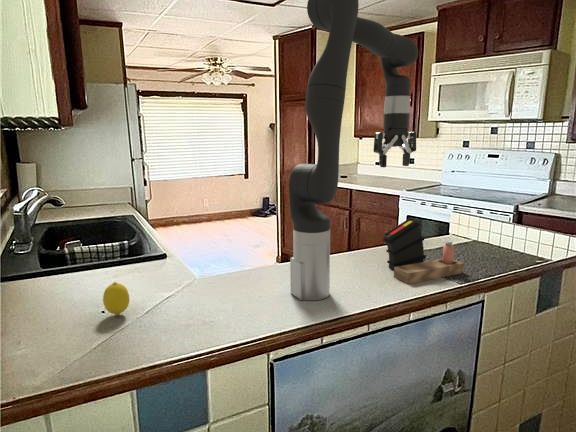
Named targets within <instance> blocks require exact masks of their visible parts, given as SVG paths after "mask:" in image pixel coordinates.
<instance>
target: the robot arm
mask: <svg viewBox="0 0 576 432" xmlns="http://www.w3.org/2000/svg"><path fill="white" fill-rule="evenodd" d="M359 4H360V3H359V0H307V4H306V5H307V6H306V12H307V16H308V18H309V20H310V22H311V23H312V25H313V26H314V27H315V28H317V29H319V30H321V31H323V32H326V33H328V37H327V41H326V44H325V47H324V49H323V51H322V53H321V55H320V56H319V58H318V60H317V62H316V63H315V65H314V67H313V69H312V71H311V73H310V75H309V77H308V80H307V87H306V94H305V105H304V106H305V107H304V108H305V113H306V116H307V118H308V121H309V124H310V126H311V128H312V130H313V133H314V134H315V137H316V141H317V163H316V164H315V163H298V164H296V165H295V166H294V167H293V168H292V169H291V171H290V174H289V178H288V197H289V200H288V201H289V212H290V213H289V215H290V219H291V221H292V229H293V231H292V234H293V235H292V236H293V237H292V238H293V239H292V242H293V243H292V245H293V246H292V247H293V249H292V250H293V251H292V253H293V256H292V257H291V256H290V259H289V260H290V265H289V266H290V267H289V270H290V280H289V281H290V293H291V294H292V295H293V296H294V297H295V298H297V299H298V300H299V301H319V300H324V299H327V298H328V297H329V296H330V288H331V287H330V283H331V282H330V280H331V277H330V276H331V271H330V270H331V269H330V268H331V266H330V263H331V260H330V259H331V219H330V217H329V216H328V215H326V214H325V213H323V212H322V211H320V210H319V209H318V207H317V206H316V204H329V203H330V202H332V201H333V200H334V198H335V196H336V194H337V191H338V186H339V185H338V184H339V171H340V170H339V169H340V168H339V167H340V165H339V164H340V141H341V129H342V121H343V120H342V119H343V113H344V108H345V107H344V106H345V99H346V91H347V88H346V87H347V76H348V70H349V62H350V55H351V49H352V44H353V43H355V44H356V45H359V46H361V47H363V48H364V49H366V50H367V51H369V52H371V53H372V54H373V55H375V56H378V58H379V57H380V62H381V67H382V71H383V77H384V81H385V91H384V93H385V95H384V96H385V97H384V103H383V104H384V105H383V123H382V124H383V131H382V132H380V131H379V132H378V131H377V132H374V140H373V149H372V150H373V153H376V154H378V157H379V158H378V160H379V161H378V164H379V167H380V168H387V159H388V158H387V157H388V155H387V154H388V152H389V150H391V149H392V148H393V147H398V148H400V149H401V151H402V152H403V154H402V167H408V166H409V165H410V164H411V154H412V153H414V152H416V151H417V132H416V131H408V129H409V127H410V116H411V115H410V113H411V100H410V98H411V97H410V91H411V78H410V77H409V76H407V75H404V74H399V71H398V68H402V67H409V66H412V65H414V63H416V62H417V59H418V57H419V48H418V45H417V44H416V42H415V41H414V40H413V39H411V38H409V37H407V36H404V35H401V34H397V33H394V32H392V31H391V30H390V29H388V28H387V27H385V25H382V24H381V23H379V22H378V21H377V22H376V21H374V20H371V19H369V18H368V19H367V18H363V17H359V7H360V5H359ZM383 140H384V141H383ZM315 203H316V204H315Z"/></svg>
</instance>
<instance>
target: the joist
mask: <svg viewBox="0 0 576 432" xmlns="http://www.w3.org/2000/svg"><path fill="white" fill-rule="evenodd" d="M442 261H443V258H439V259H438V258H437V259H432V260H429V261H424V262H421V263H415V264H409V265H403V266H398V267H394V270H393V278H395V279H397V280H399V281H401V282H403V283H405V284H406V285H407V284H415V283H418V282H424V281H430V280H434V279H440V278H445V277H450V276H454V275H460V274H464V273H465V272H464V271H465V263H464V262H463V261H460V260H457V259H454V258H453V264H450V265H446V264H444V263H442Z"/></svg>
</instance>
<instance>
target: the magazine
mask: <svg viewBox="0 0 576 432" xmlns="http://www.w3.org/2000/svg"><path fill="white" fill-rule="evenodd" d="M420 226H421V223H420V222H419V221H418V220H417V219H416V218H413V217H409V218H408V219H405V220H404V221H403V222H401V223H400V224H398V225H396V226H395V227H394V228H392V229H390V230H388V231H387V232H385V233H384V234H382V236H383V238H382V241H383V242H385V244H386V247H387V249H386V253H388V260H387V261H386V263H387V264H388V268H389V269H390V270H393V271H394V267H398V266H403V265H409V264H415V263H421V262H425V261H424V260H425V259H427V258H426V257H427V255H426V254H425V253H424V252H425V251H424V250H425V249H424V241H425V237H424V236H423V235H422V231H421V228H420Z"/></svg>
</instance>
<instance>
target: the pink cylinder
mask: <svg viewBox="0 0 576 432" xmlns="http://www.w3.org/2000/svg"><path fill="white" fill-rule="evenodd" d="M454 248H455V246H454V245H453V241H448V240H447V241H445V243H444V244H443V248H442V259H443V261H442V263H444V264H446V265H450V264H453V259H454Z"/></svg>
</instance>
